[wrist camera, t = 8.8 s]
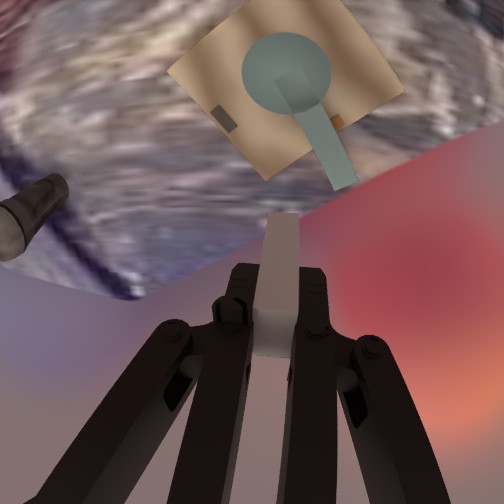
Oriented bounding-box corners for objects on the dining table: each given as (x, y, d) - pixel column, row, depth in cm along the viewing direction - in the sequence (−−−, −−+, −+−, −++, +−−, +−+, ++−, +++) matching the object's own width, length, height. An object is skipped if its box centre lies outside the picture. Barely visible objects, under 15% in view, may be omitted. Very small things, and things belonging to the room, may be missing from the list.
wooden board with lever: (306, -31, 20) (308, -42, 17) (400, 89, 26) (414, 93, 23) (171, 70, 28) (157, 72, 25) (266, 176, 34) (263, 190, 31)
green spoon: (231, 59, 23) (224, 58, 21) (301, 23, 21) (302, 18, 18) (309, 188, 30) (311, 201, 27) (373, 159, 27) (382, 170, 25)
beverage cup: (49, 155, 35) (-55, 232, 18) (83, 186, 37) (-14, 279, 21) (35, 189, 38) (-54, 268, 22) (65, 218, 40) (-17, 308, 24)
